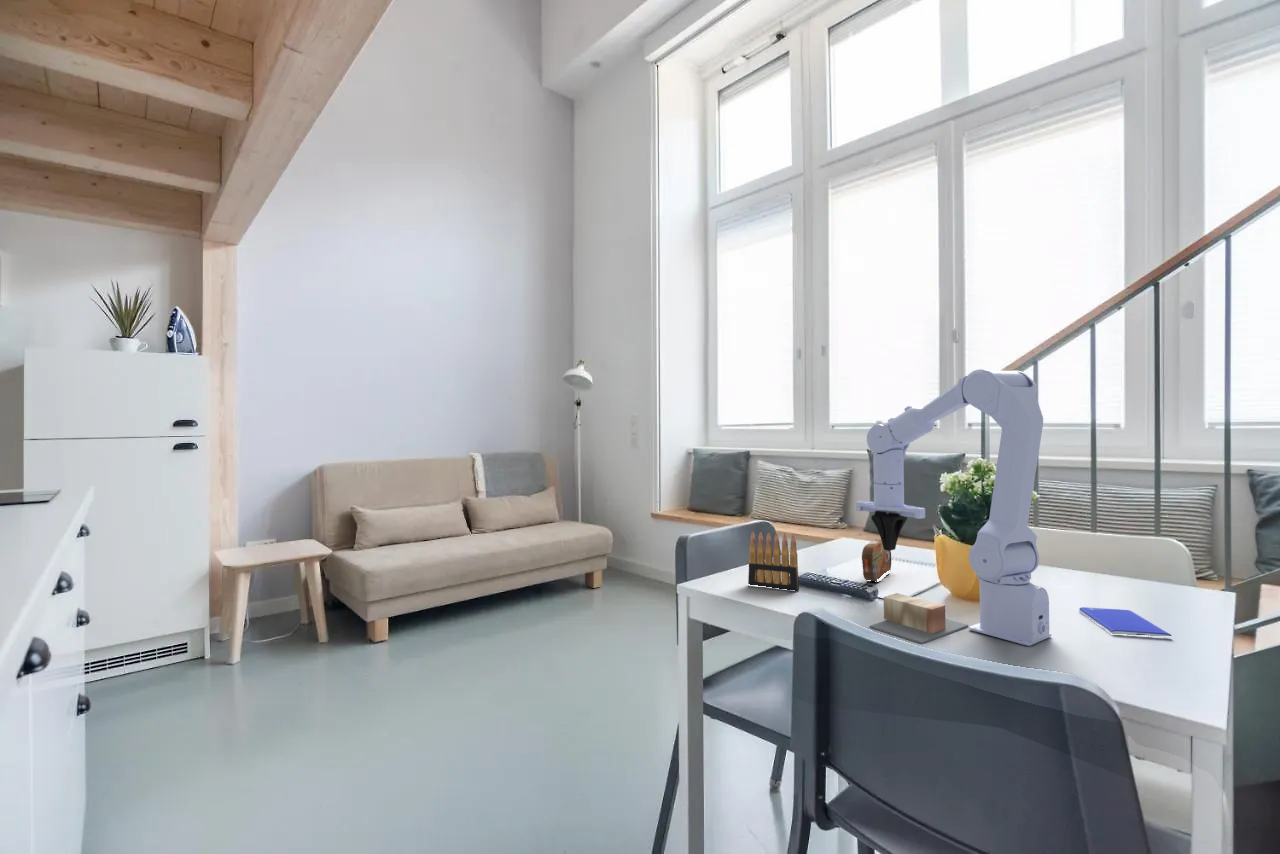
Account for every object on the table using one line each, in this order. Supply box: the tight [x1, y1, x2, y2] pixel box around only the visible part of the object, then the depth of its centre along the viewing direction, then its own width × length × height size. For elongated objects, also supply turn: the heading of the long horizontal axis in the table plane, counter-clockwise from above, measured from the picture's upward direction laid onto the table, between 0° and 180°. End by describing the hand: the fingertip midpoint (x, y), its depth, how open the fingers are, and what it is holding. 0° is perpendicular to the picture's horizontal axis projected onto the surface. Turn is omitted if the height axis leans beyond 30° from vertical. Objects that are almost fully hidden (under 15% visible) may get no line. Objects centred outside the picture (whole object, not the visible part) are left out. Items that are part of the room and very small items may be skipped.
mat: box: [869, 618, 969, 645], centre depth 103 cm, size 10×14×1 cm
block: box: [883, 592, 946, 634], centre depth 104 cm, size 4×4×9 cm
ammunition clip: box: [747, 531, 800, 592], centre depth 129 cm, size 11×2×12 cm, turn 65°
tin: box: [861, 538, 892, 583], centre depth 136 cm, size 15×3×8 cm, turn 143°
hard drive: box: [1078, 606, 1172, 636], centre depth 103 cm, size 2×8×12 cm
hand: (889, 549), depth 122 cm, fingers closed
